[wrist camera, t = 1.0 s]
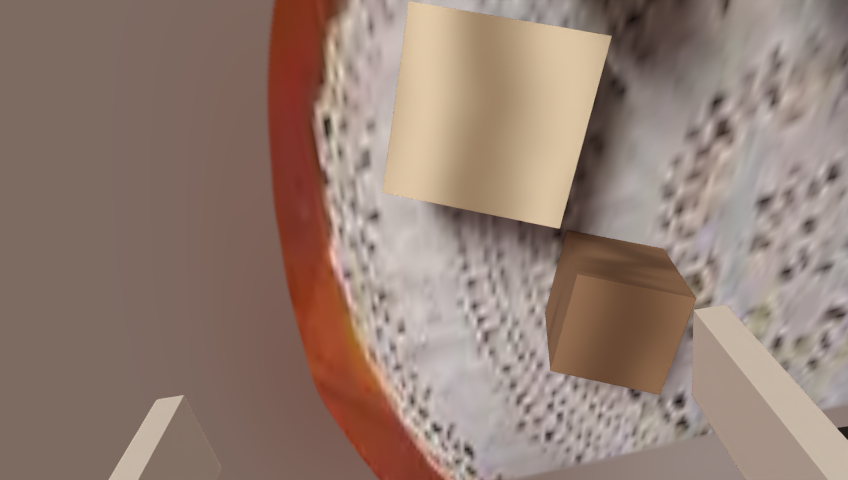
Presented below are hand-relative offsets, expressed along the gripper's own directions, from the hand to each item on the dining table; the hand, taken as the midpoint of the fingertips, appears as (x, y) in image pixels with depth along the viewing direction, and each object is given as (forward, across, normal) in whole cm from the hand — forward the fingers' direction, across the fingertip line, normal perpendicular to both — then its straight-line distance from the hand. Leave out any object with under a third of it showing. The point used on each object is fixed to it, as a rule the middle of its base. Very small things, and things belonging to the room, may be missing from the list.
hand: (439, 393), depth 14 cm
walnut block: (+20, -9, +11) cm, 24 cm away
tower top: (+18, -4, -2) cm, 19 cm away
